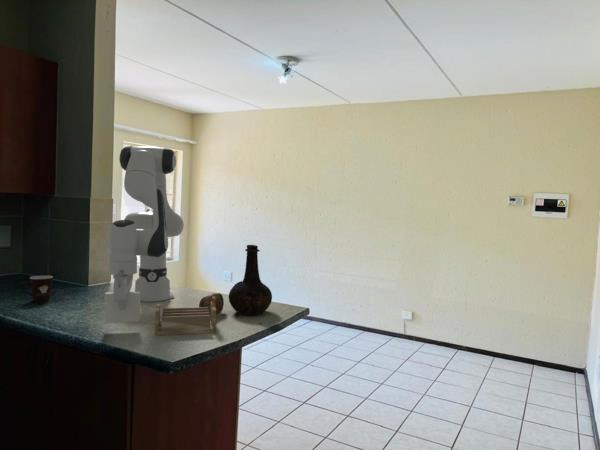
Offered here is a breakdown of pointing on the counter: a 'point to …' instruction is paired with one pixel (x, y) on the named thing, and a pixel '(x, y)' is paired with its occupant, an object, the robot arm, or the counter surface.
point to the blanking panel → (126, 315)
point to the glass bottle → (250, 288)
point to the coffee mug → (40, 287)
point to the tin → (208, 299)
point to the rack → (185, 320)
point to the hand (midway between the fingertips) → (122, 308)
